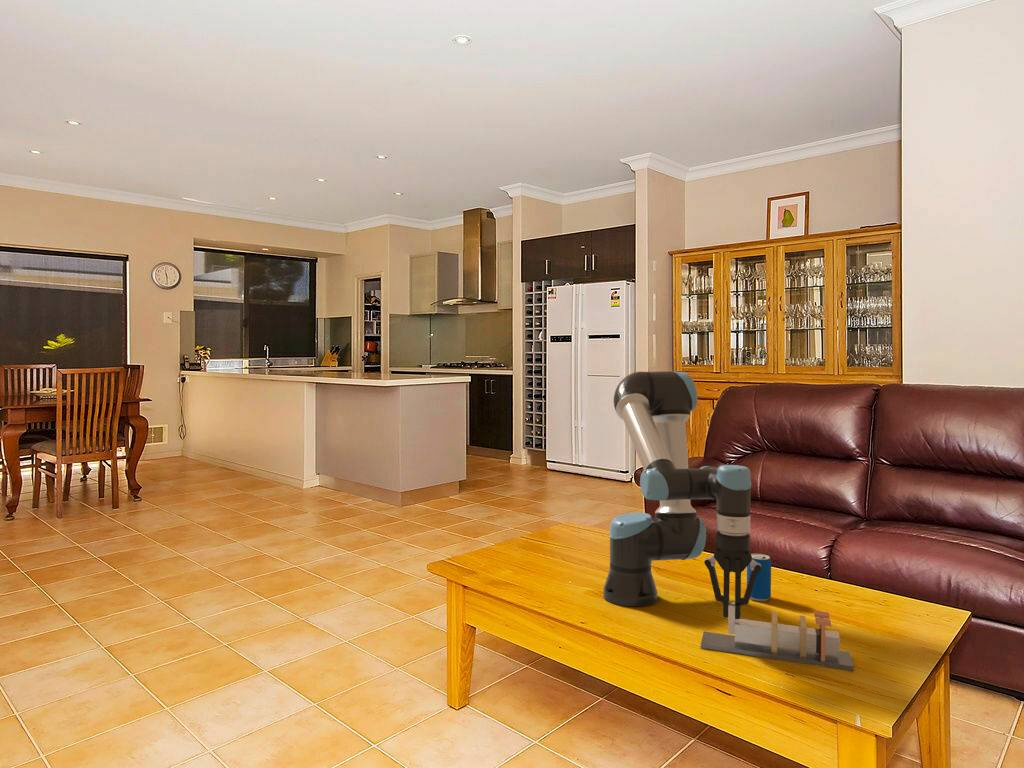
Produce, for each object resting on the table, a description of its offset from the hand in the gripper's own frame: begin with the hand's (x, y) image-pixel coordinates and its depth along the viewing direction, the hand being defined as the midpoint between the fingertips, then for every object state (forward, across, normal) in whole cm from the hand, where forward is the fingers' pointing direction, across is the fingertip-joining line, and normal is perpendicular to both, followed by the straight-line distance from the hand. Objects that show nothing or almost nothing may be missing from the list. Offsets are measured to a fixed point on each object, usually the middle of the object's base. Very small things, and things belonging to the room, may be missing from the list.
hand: (731, 631), depth 159 cm
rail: (+3, +9, 0) cm, 10 cm away
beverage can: (+4, +5, +37) cm, 38 cm away
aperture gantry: (+3, +19, 0) cm, 20 cm away
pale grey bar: (+1, +12, 0) cm, 12 cm away
